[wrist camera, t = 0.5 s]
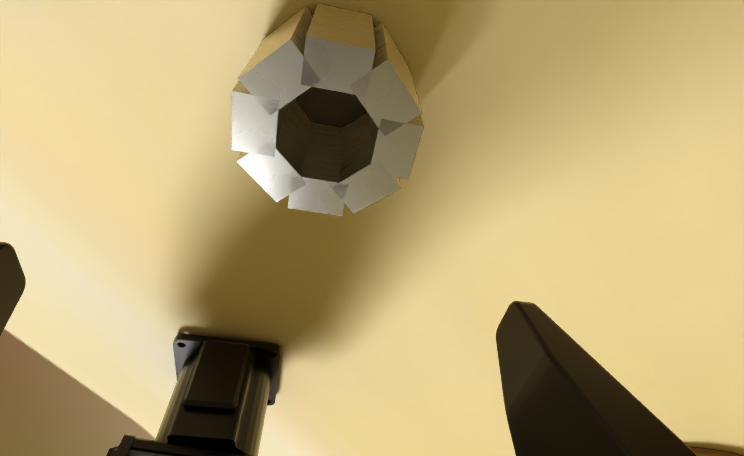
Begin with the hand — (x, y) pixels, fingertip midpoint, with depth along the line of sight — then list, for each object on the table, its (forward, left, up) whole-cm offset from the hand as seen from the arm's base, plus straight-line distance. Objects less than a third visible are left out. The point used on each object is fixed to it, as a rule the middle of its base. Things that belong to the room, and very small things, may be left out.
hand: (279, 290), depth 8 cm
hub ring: (0, -1, -12) cm, 12 cm away
